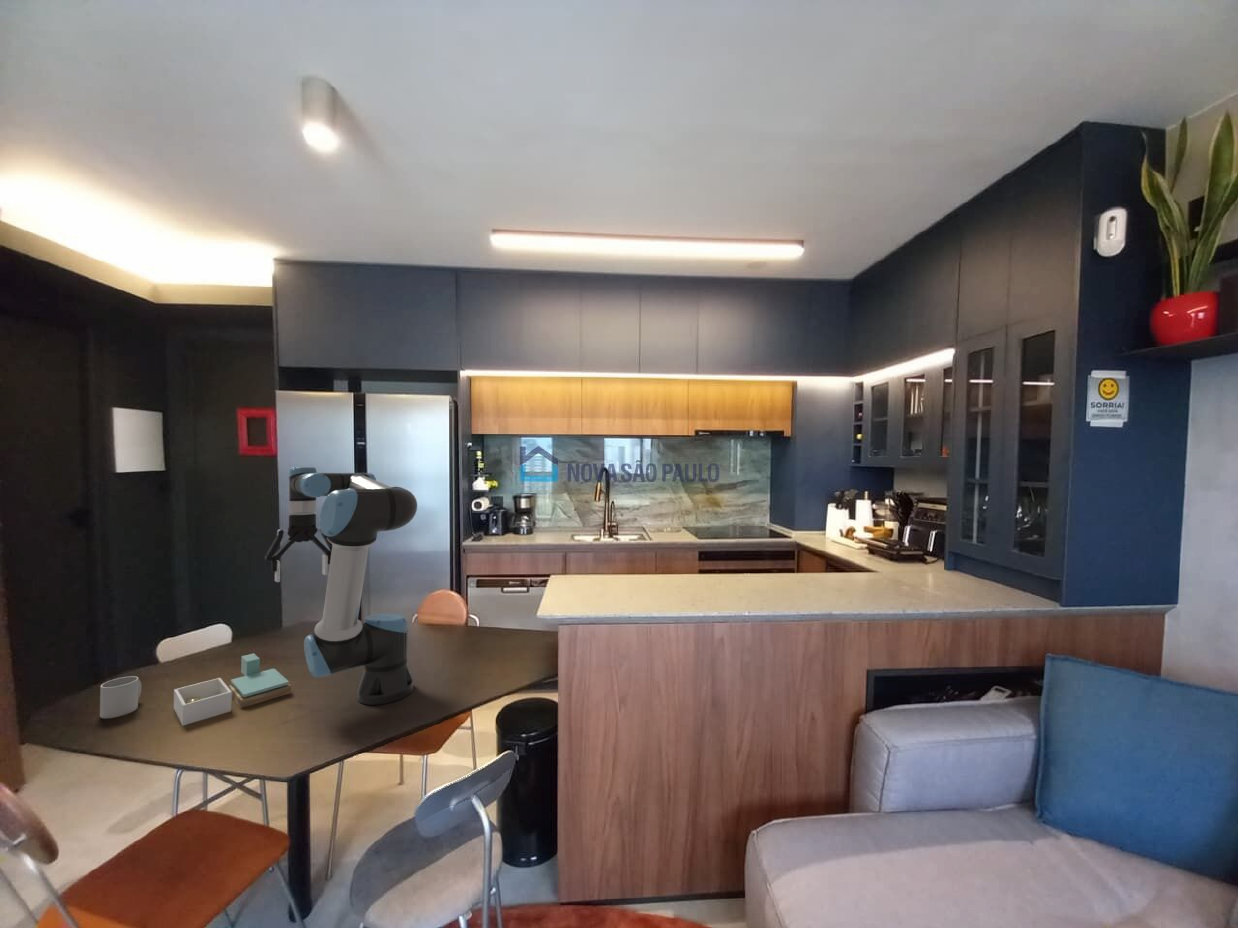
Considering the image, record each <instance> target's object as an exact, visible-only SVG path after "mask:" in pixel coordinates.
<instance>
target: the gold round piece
mask: <svg viewBox="0 0 1238 928" xmlns="http://www.w3.org/2000/svg"><path fill="white" fill-rule="evenodd" d="M198 700H200V697H194V698H191V699H188V700H187V703H190V702H194V701H198Z"/></svg>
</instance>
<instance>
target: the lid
mask: <svg viewBox="0 0 1238 928" xmlns="http://www.w3.org/2000/svg"><path fill="white" fill-rule="evenodd" d="M240 658H241V659H240V661H241V663H240V664H241V666H240V673H241V674H242V675H243V676H239V677H236V678H233V679H230V683H231V685H234V687H235V688H236V689H237V690H238V691H239V693H240V694H241V695H242V696H243V697H247V696H251V695H254V694H258V693H261V692H265V691H268V690H272V689H275V688H278V687H282V686H285V685H288V684H290V681H289V680H288V679H287V678H285V676H283V675H282V674H281V673H280V672H279V671H278V670H277V669H276V668H269V669H266V670H263V671H260V663H261V659H260V657H259V656H257V655H256V654H255V653H250V654H246V655H241V656H240Z"/></svg>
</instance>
